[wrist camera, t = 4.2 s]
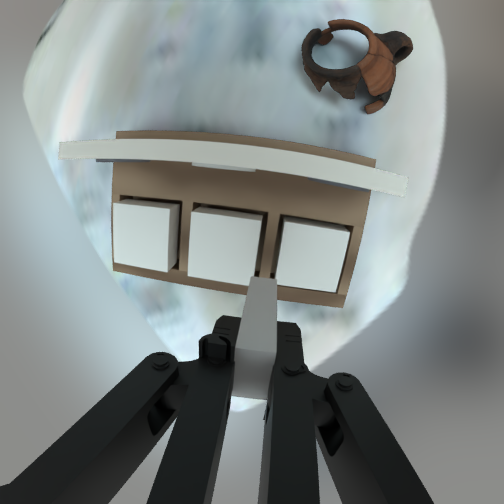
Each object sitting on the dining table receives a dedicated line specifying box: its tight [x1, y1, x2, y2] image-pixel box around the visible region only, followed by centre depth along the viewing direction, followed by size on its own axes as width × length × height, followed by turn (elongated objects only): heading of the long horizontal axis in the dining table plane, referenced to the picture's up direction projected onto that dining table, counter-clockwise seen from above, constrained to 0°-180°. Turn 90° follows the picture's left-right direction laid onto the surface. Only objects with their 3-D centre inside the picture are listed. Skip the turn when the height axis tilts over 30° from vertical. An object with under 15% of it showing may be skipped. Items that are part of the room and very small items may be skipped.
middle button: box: [188, 207, 263, 286], centre depth 25 cm, size 6×6×3 cm
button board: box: [111, 131, 376, 308], centre depth 27 cm, size 15×25×4 cm, turn 83°
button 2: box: [274, 216, 350, 292], centre depth 26 cm, size 6×6×3 cm
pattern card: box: [58, 139, 409, 198], centre depth 19 cm, size 2×22×10 cm, turn 83°
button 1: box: [113, 199, 180, 272], centre depth 25 cm, size 6×6×3 cm
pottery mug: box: [302, 19, 413, 114], centre depth 20 cm, size 12×10×8 cm
